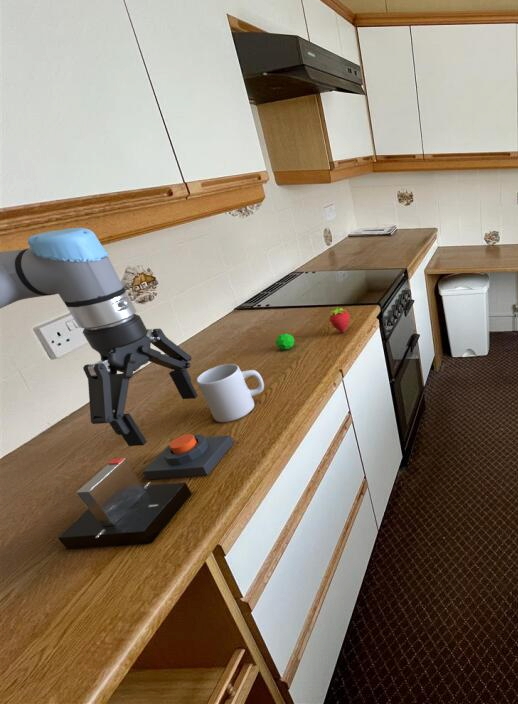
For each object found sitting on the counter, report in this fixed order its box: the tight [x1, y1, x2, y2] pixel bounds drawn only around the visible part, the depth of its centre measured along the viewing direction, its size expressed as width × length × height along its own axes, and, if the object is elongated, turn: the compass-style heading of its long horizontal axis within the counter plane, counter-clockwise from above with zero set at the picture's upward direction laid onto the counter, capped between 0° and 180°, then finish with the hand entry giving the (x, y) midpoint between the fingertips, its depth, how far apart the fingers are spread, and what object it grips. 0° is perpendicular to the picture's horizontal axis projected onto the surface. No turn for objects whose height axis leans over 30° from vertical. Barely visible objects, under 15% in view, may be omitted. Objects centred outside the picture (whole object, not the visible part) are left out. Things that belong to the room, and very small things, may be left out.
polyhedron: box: [275, 333, 295, 351], centre depth 126 cm, size 5×5×5 cm
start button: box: [169, 433, 197, 454], centre depth 82 cm, size 4×4×2 cm
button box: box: [142, 433, 234, 481], centre depth 83 cm, size 12×9×4 cm
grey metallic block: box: [76, 457, 146, 526], centre depth 69 cm, size 7×2×8 cm, turn 2°
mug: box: [196, 363, 265, 423], centre depth 97 cm, size 12×8×11 cm
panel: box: [57, 481, 193, 551], centre depth 71 cm, size 14×11×3 cm
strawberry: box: [329, 307, 350, 334], centre depth 132 cm, size 6×8×10 cm
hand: (166, 419), depth 79 cm, fingers open, 13 cm apart
